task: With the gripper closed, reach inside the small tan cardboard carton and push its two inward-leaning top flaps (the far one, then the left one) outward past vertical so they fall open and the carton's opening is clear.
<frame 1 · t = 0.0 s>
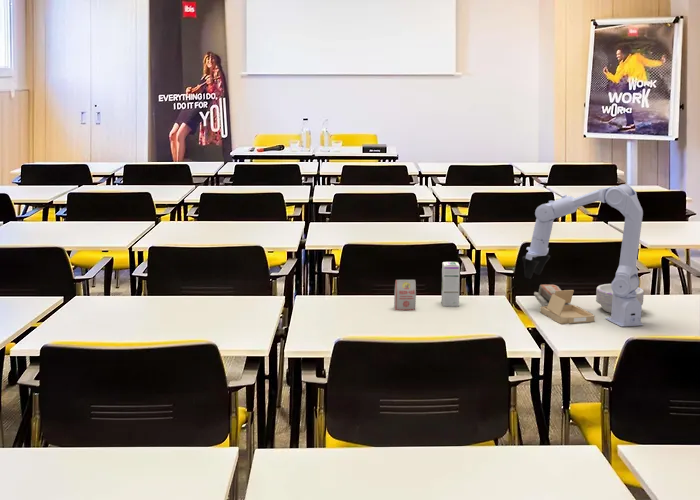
hand: (532, 276, 289), 11 cm above the table, tool pointing down, fingers open, 7 cm apart
carton: (566, 316, 278), on the table
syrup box: (449, 304, 292), on the table
far flap: (563, 296, 283), point 5 cm above the table, hinge at 20.0°
left flap: (556, 304, 274), point 5 cm above the table, hinge at 20.0°
paper bowls: (618, 311, 286), on the table
white food box: (404, 309, 286), on the table
packaged product: (552, 303, 297), on the table
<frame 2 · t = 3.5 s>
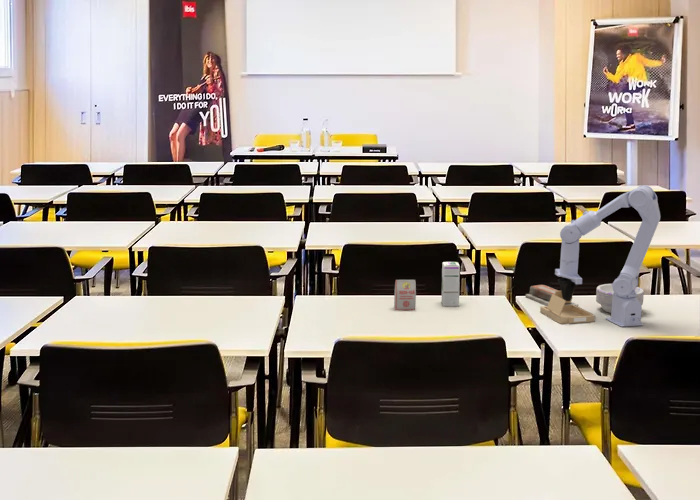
hand: (566, 300, 281), 5 cm above the table, tool pointing down, fingers closed
far flap: (563, 296, 283), point 5 cm above the table, hinge at 20.0°, touching gripper
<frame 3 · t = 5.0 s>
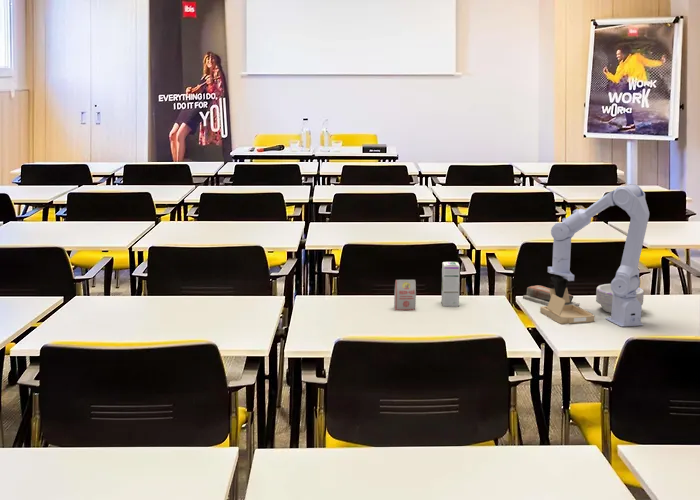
hand: (559, 297, 286), 4 cm above the table, tool pointing down, fingers closed, pressing on far flap
far flap: (559, 295, 286), point 5 cm above the table, hinge at -28.5°, touching gripper
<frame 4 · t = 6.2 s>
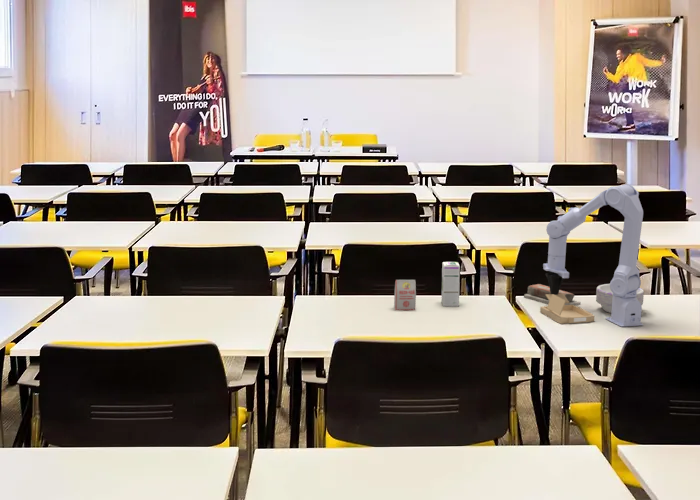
hand: (554, 294, 289), 5 cm above the table, tool pointing down, fingers closed, pressing on far flap
far flap: (557, 298, 287), point 3 cm above the table, hinge at -66.8°, touching gripper
packaged product: (551, 302, 299), on the table
everything else where it was.
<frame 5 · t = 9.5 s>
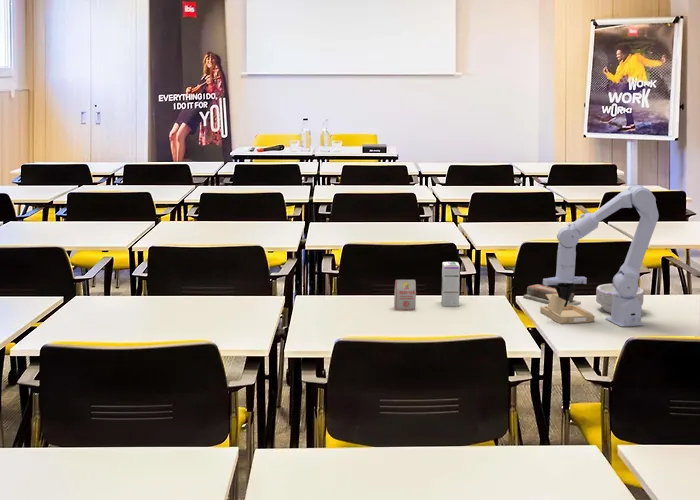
hand: (563, 305, 274), 5 cm above the table, tool pointing down, fingers closed
far flap: (557, 298, 287), point 3 cm above the table, hinge at -66.6°
left flap: (556, 304, 274), point 5 cm above the table, hinge at 20.0°, touching gripper
everything else where it was.
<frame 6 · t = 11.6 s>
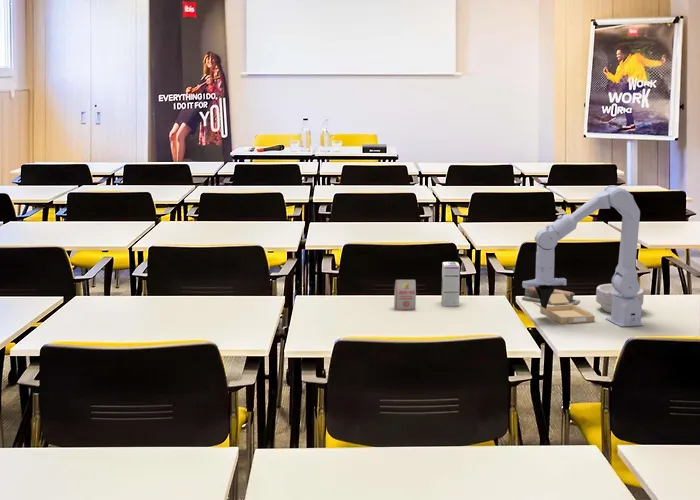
hand: (543, 308, 273), 4 cm above the table, tool pointing down, fingers closed, pressing on left flap
left flap: (545, 309, 273), point 4 cm above the table, hinge at -61.6°, touching gripper
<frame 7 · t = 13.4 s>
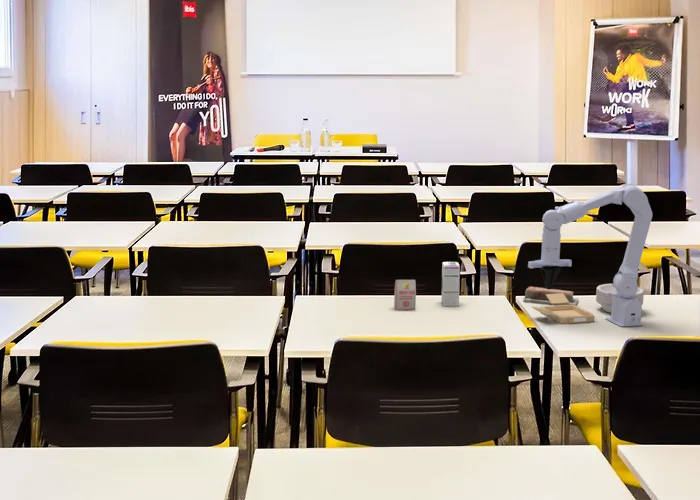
hand: (548, 288, 275), 10 cm above the table, tool pointing down, fingers closed
left flap: (544, 311, 273), point 3 cm above the table, hinge at -76.8°
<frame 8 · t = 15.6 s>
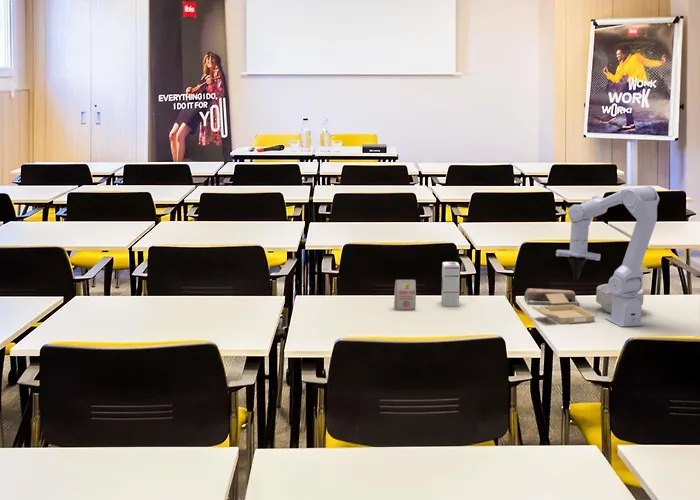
hand: (576, 278, 289), 10 cm above the table, tool pointing down, fingers closed
left flap: (544, 311, 273), point 3 cm above the table, hinge at -77.7°
at the end: far flap at -67° (first picture: +20°); left flap at -78° (first picture: +20°) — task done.
